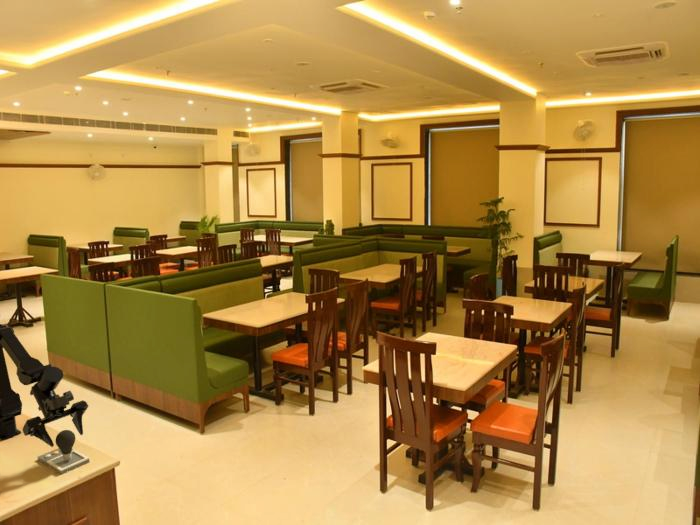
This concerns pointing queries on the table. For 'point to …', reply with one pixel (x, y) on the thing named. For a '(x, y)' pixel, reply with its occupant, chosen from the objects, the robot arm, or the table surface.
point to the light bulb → (65, 443)
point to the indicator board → (61, 465)
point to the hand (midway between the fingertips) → (67, 440)
